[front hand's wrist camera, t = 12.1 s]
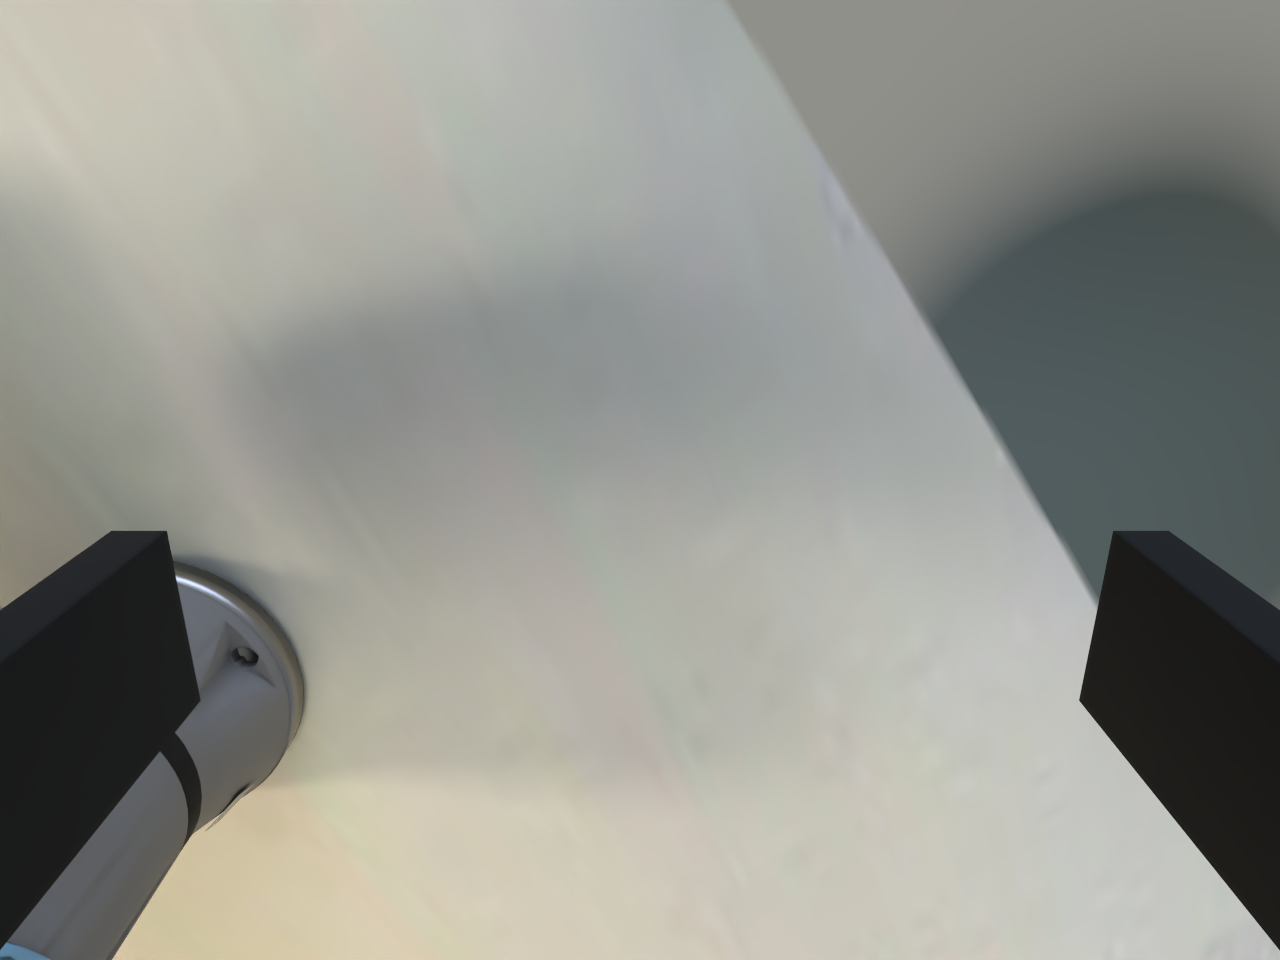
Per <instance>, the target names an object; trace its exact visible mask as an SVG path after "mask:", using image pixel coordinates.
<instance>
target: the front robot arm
mask: <svg viewBox="0 0 1280 960" xmlns="http://www.w3.org/2000/svg"><path fill="white" fill-rule="evenodd" d="M303 698H304V693H303V682H302V676H301V671H300V668H299V665H298V662H297V659H296V656H295V654H294V652H293V649H292V647H291V646H290V644H289V642H288V640H287V638H286V637H285V635H284V634H283V632H282V631H281V629H280V628H279V626H278V625H277V624H276V623H275V621H274V620H273V619H272V618H271V617H270V615H269V614H268V613H267V612H266V611H265V610H264V609H263V608H262V607H261V606H260V605H258V604H257V603H256V602H255V601H254V600H253V599H252V598H250V597H249V596H248V595H246V594H245V593H244V592H242V591H241V590H240V589H238V588H237V587H235V586H233V585H232V584H230V583H228V582H227V581H225V580H223V579H221V578H219V577H217V576H215V575H213V574H211V573H208V572H206V571H203V570H201V569H198V568H195V567H192V566H189V565H186V564H181V563H177V562H173V560H172V555H171V550H170V545H169V540H168V535H167V531H111V532H109V533H108V534H107V535H105V536H104V537H102V538H101V539H100V540H98V541H97V542H95V543H94V544H93V545H91V546H90V547H88V548H87V549H86V550H84V551H83V552H81V553H80V554H79V555H77V556H76V557H74V558H73V559H72V560H70V561H69V562H67V563H66V564H65V565H63V566H62V567H60V568H59V569H58V570H56V571H55V572H53V573H52V574H51V575H49V576H48V577H46V578H45V579H44V580H42V581H41V582H39V583H38V584H37V585H35V586H34V587H32V588H31V589H30V590H28V591H27V592H25V593H24V594H23V595H21V596H20V597H18V598H17V599H16V600H14V601H13V602H11V603H10V604H9V605H7V606H6V607H4V608H3V609H2V610H0V960H112V959H113V957H114V956H115V954H116V952H117V951H118V949H119V948H120V946H121V945H122V943H123V941H124V940H125V938H126V937H127V935H128V934H129V932H130V930H131V929H132V927H133V926H134V924H135V923H136V921H137V919H138V918H139V916H140V915H141V913H142V912H143V910H144V908H145V907H146V905H147V904H148V902H149V901H150V899H151V897H152V896H153V894H154V893H155V891H156V890H157V888H158V886H159V885H160V883H161V882H162V880H163V879H164V877H165V875H166V874H167V872H168V871H169V869H170V868H171V866H172V864H173V863H174V861H175V860H176V858H177V857H178V855H179V853H180V852H181V850H182V849H183V847H184V846H185V844H186V843H187V841H188V840H189V838H190V837H191V835H192V834H193V833H194V832H196V831H197V830H199V829H200V828H201V827H203V826H204V825H205V824H207V823H208V822H210V821H211V820H212V819H214V818H215V817H216V816H218V815H219V814H221V813H222V812H223V811H224V812H223V813H222V814H221V815H220V816H219V817H218V818H217V819H216V820H215V821H214V822H213V823H212V824H211V826H210V827H209V828H211V827H212V826H213V825H215V824H216V823H217V822H219V821H220V820H221V819H222V818H223V816H224V815H225V814H226V813H227V812H228V811H229V810H230V809H231V808H232V807H233V806H234V805H235V804H236V803H237V802H238V801H239V799H241V798H242V797H243V796H245V795H246V794H248V793H249V792H250V791H252V790H253V789H255V788H256V787H257V786H259V785H260V784H261V783H262V782H263V781H264V780H265V779H266V778H267V777H268V776H269V775H270V774H271V773H272V772H273V770H274V769H275V768H276V766H277V765H278V763H279V762H280V760H281V758H282V757H283V755H284V753H285V751H286V750H287V748H288V746H289V745H290V743H291V741H292V740H293V738H294V736H295V734H296V731H297V729H298V727H299V723H300V720H301V716H302V710H303ZM1079 701H1080V702H1081V703H1082V705H1083V706H1084V707H1085V708H1086V710H1087V711H1088V712H1089V713H1090V714H1091V716H1092V717H1093V718H1094V719H1095V721H1096V722H1097V723H1098V724H1099V726H1100V727H1101V728H1102V729H1103V731H1104V732H1105V733H1106V734H1107V736H1108V737H1109V738H1110V739H1111V741H1112V742H1113V743H1114V744H1115V746H1116V747H1117V748H1118V749H1119V751H1120V752H1121V753H1122V754H1123V756H1124V757H1125V758H1126V759H1127V761H1128V762H1129V763H1130V764H1131V766H1132V767H1133V768H1134V769H1135V771H1136V772H1137V773H1138V774H1139V776H1140V777H1141V778H1142V779H1143V780H1144V782H1145V783H1146V784H1147V785H1148V787H1149V788H1150V789H1151V790H1152V792H1153V793H1154V794H1155V795H1156V797H1157V798H1158V799H1159V800H1160V802H1161V803H1162V804H1163V805H1164V807H1165V808H1166V809H1167V810H1168V812H1169V813H1170V814H1171V815H1172V817H1173V818H1174V819H1175V820H1176V822H1177V823H1178V824H1179V825H1180V827H1181V828H1182V829H1183V830H1184V832H1185V833H1186V834H1187V835H1188V837H1189V838H1190V839H1191V840H1192V842H1193V843H1194V844H1195V845H1196V846H1197V848H1198V849H1199V850H1200V851H1201V853H1202V854H1203V855H1204V856H1205V858H1206V859H1207V860H1208V861H1209V863H1210V864H1211V865H1212V866H1213V868H1214V869H1215V870H1216V871H1217V873H1218V874H1219V875H1220V876H1221V878H1222V879H1223V880H1224V881H1225V883H1226V884H1227V885H1228V886H1229V888H1230V889H1231V890H1232V891H1233V893H1234V894H1235V895H1236V896H1237V898H1238V899H1239V900H1240V901H1241V903H1242V904H1243V905H1244V906H1245V908H1246V909H1247V910H1248V911H1249V913H1250V914H1251V915H1252V916H1253V917H1254V919H1255V920H1256V921H1257V922H1258V924H1259V925H1260V926H1261V927H1262V929H1263V930H1264V931H1265V932H1266V934H1267V935H1268V936H1269V937H1270V939H1271V940H1272V941H1273V942H1274V944H1275V945H1276V946H1277V947H1278V949H1279V950H1280V610H1278V609H1277V608H1276V607H1274V606H1273V605H1271V604H1270V603H1269V602H1267V601H1266V600H1264V599H1263V598H1262V597H1260V596H1259V595H1257V594H1256V593H1255V592H1253V591H1252V590H1250V589H1249V588H1248V587H1246V586H1245V585H1243V584H1242V583H1241V582H1239V581H1238V580H1236V579H1235V578H1234V577H1232V576H1231V575H1229V574H1228V573H1227V572H1225V571H1224V570H1222V569H1221V568H1220V567H1218V566H1217V565H1215V564H1214V563H1213V562H1211V561H1210V560H1208V559H1207V558H1206V557H1204V556H1203V555H1201V554H1200V553H1199V552H1197V551H1196V550H1194V549H1193V548H1192V547H1190V546H1189V545H1187V544H1186V543H1185V542H1183V541H1182V540H1180V539H1179V538H1178V537H1176V536H1175V535H1173V534H1172V533H1171V532H1169V531H1113V535H1112V540H1111V545H1110V550H1109V555H1108V560H1107V565H1106V570H1105V575H1104V580H1103V585H1102V590H1101V595H1100V600H1099V605H1098V610H1097V615H1096V620H1095V625H1094V630H1093V635H1092V640H1091V645H1090V649H1089V654H1088V659H1087V664H1086V669H1085V674H1084V679H1083V684H1082V689H1081V694H1080V699H1079ZM209 828H208V829H209ZM208 829H207V830H208ZM207 830H206V831H207Z"/></svg>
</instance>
